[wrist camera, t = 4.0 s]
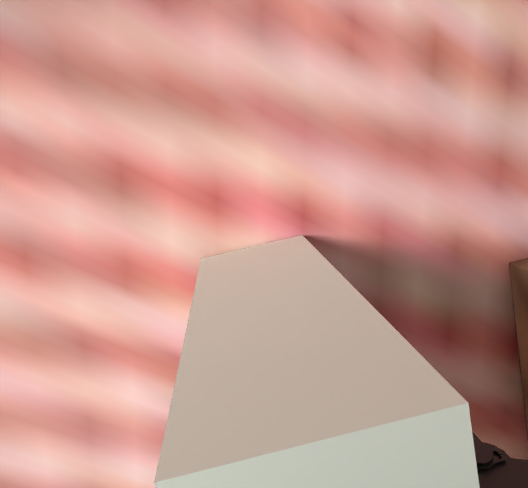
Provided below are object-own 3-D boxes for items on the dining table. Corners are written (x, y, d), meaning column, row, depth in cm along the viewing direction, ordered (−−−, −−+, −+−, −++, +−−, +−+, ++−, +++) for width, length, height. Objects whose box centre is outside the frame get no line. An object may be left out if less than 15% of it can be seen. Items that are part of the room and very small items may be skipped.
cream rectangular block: (201, 258, 17) (154, 483, 5) (309, 233, 17) (490, 396, 6) (257, 478, 19) (311, 983, 8) (353, 453, 19) (552, 908, 8)
